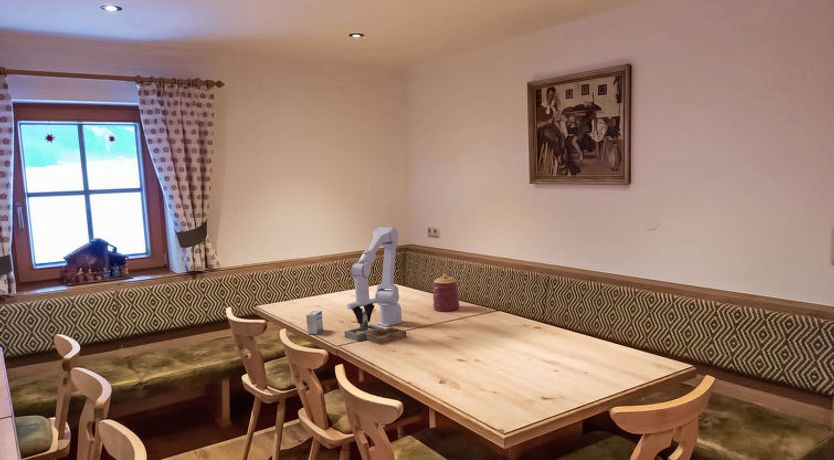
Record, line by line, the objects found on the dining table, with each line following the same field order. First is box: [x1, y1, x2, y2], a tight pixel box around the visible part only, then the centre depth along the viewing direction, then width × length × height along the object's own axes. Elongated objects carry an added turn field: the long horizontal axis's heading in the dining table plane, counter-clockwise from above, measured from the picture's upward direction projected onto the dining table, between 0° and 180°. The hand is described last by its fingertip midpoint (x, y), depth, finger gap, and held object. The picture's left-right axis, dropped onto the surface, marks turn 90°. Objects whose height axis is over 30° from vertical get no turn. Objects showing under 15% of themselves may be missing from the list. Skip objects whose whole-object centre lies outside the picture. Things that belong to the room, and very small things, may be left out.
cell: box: [359, 310, 369, 328], centre depth 256 cm, size 4×4×6 cm
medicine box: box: [305, 310, 324, 335], centre depth 265 cm, size 8×4×9 cm, turn 168°
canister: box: [432, 273, 461, 313], centre depth 296 cm, size 13×13×18 cm
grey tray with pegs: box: [344, 324, 385, 342], centre depth 256 cm, size 14×9×3 cm
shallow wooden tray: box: [364, 326, 407, 345], centre depth 251 cm, size 14×10×2 cm
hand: (364, 322), depth 256 cm, fingers closed on cell, 4 cm apart
